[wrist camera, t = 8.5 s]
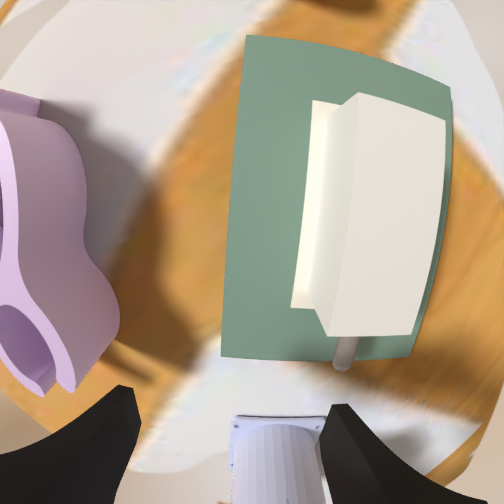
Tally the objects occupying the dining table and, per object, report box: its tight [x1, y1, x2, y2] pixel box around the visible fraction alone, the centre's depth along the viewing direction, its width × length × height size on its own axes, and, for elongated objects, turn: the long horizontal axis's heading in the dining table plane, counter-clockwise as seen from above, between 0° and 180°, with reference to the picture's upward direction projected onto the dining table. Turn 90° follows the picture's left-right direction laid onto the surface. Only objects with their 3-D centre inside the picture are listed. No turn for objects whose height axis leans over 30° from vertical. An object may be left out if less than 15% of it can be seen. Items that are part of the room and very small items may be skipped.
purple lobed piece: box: [0, 89, 120, 397], centre depth 13 cm, size 20×12×7 cm, turn 24°
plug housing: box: [307, 92, 446, 371], centre depth 13 cm, size 14×4×5 cm, turn 175°
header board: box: [221, 35, 452, 361], centre depth 14 cm, size 20×14×4 cm
